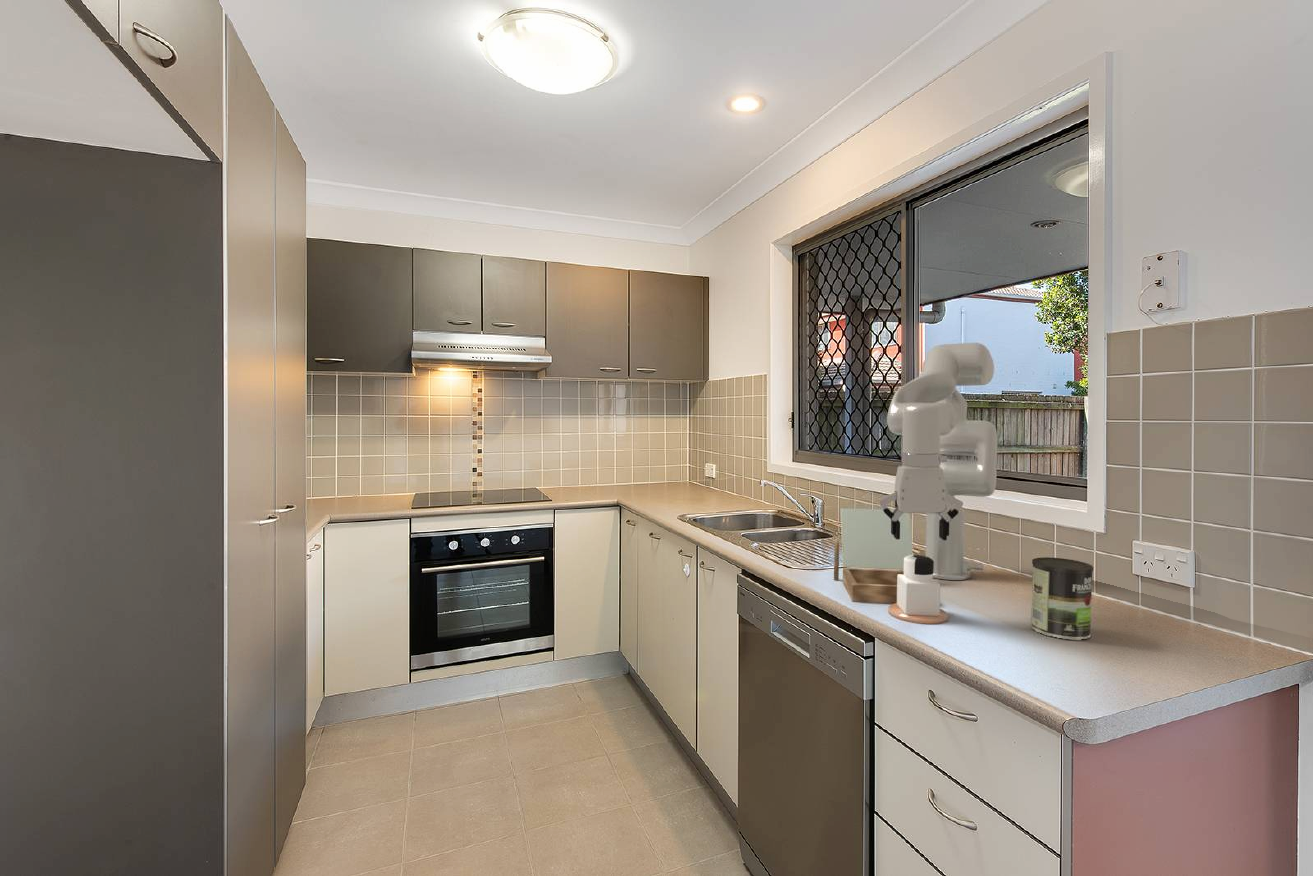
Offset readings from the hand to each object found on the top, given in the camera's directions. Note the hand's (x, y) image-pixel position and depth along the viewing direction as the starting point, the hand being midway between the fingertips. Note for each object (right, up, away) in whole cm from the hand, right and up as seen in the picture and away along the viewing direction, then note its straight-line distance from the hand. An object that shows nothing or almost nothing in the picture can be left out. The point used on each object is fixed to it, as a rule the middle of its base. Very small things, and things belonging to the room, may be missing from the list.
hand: (919, 538), depth 134 cm
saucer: (0, -17, 0) cm, 17 cm away
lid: (0, -4, +25) cm, 26 cm away
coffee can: (+24, -18, -10) cm, 32 cm away
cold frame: (-2, -16, +16) cm, 22 cm away
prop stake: (-10, -16, +27) cm, 33 cm away
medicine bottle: (0, -16, 0) cm, 16 cm away
